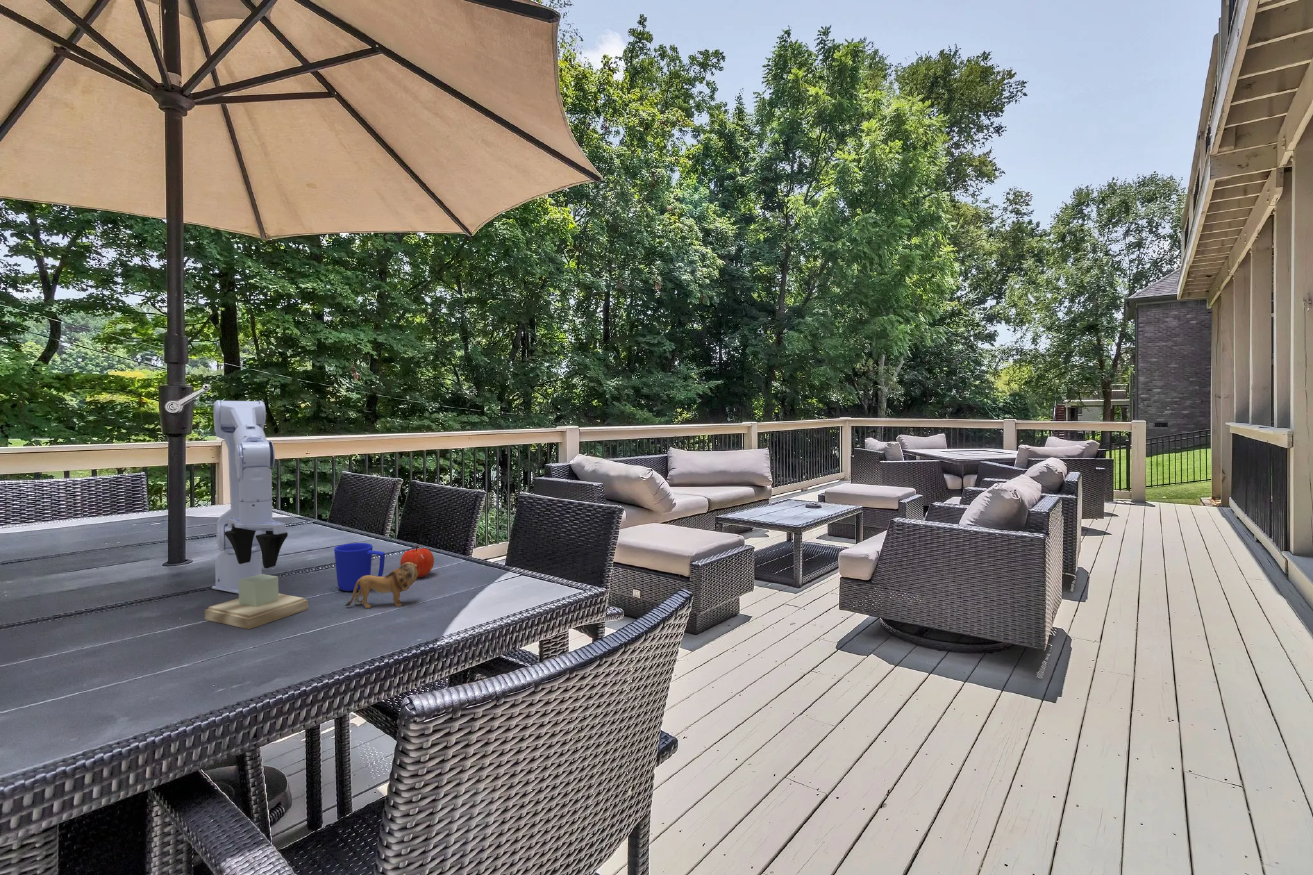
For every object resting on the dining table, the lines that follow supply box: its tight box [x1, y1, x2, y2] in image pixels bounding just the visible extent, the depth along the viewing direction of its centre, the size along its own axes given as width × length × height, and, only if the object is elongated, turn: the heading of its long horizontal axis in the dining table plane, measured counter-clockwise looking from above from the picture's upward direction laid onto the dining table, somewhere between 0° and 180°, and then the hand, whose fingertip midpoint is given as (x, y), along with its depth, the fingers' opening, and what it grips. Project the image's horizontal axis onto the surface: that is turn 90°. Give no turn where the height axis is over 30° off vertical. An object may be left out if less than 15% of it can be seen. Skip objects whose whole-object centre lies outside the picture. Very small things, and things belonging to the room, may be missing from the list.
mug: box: [333, 542, 386, 592], centre depth 149 cm, size 8×12×10 cm
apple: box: [399, 545, 435, 579], centre depth 161 cm, size 8×8×8 cm
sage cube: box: [238, 573, 280, 607], centre depth 131 cm, size 5×5×5 cm
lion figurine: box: [344, 562, 418, 609], centre depth 139 cm, size 15×5×9 cm, turn 113°
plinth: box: [204, 592, 309, 630], centre depth 131 cm, size 13×13×2 cm
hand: (256, 565), depth 131 cm, fingers open, 7 cm apart
